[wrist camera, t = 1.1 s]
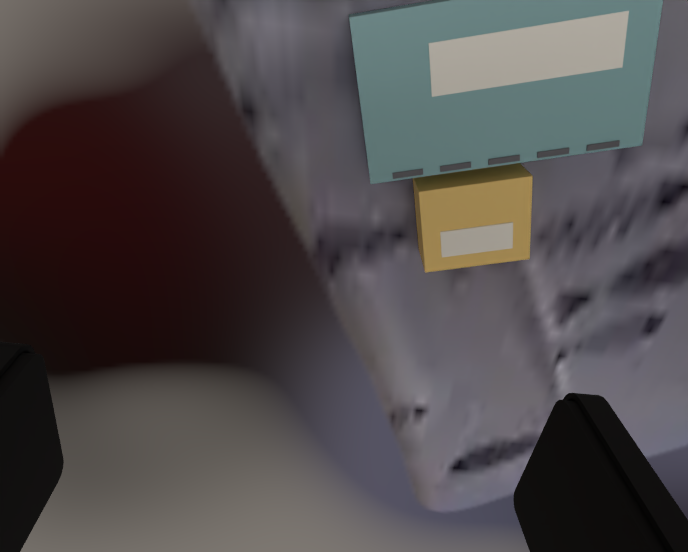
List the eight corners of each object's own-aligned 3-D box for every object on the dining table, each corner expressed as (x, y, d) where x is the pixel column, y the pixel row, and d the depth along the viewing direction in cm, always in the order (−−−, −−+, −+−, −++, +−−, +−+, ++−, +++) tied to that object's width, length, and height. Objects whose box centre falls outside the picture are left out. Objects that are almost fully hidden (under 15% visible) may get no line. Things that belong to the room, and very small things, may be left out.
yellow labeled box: (515, 159, 29) (533, 176, 26) (514, 236, 32) (530, 259, 29) (412, 174, 30) (419, 192, 27) (418, 249, 32) (425, 273, 29)
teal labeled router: (633, -34, 24) (669, -37, 22) (614, 130, 28) (643, 145, 26) (348, 14, 25) (349, 17, 23) (368, 166, 29) (370, 184, 27)
